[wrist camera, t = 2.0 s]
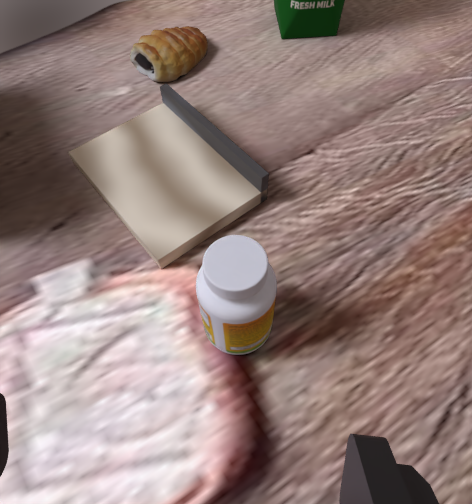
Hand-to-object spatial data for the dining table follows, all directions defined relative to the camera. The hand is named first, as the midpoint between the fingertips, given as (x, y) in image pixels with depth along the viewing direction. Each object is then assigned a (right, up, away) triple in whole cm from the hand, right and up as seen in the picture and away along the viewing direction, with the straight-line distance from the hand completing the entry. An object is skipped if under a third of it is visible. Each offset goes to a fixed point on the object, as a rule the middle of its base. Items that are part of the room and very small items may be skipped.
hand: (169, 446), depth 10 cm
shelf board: (-5, +11, +32) cm, 34 cm away
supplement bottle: (+2, -1, +24) cm, 24 cm away
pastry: (-7, +27, +42) cm, 51 cm away
